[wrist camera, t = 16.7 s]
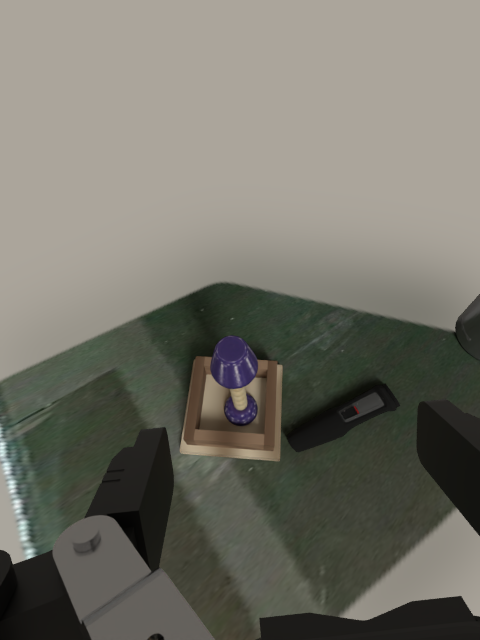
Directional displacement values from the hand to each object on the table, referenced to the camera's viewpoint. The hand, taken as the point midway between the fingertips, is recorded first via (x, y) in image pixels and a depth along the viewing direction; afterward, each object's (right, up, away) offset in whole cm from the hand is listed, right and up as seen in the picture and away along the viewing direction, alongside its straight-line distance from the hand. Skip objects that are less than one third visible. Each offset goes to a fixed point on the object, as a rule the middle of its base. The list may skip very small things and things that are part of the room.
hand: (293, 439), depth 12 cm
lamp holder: (-2, -8, +37) cm, 38 cm away
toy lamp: (-2, -7, +36) cm, 37 cm away
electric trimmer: (+12, -9, +36) cm, 39 cm away
